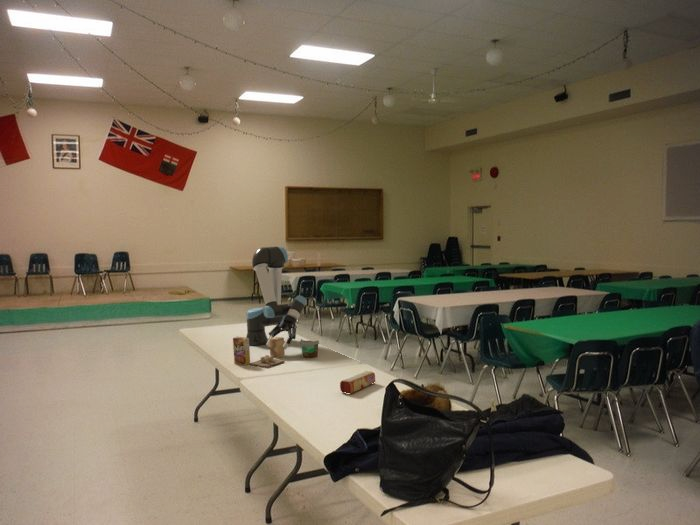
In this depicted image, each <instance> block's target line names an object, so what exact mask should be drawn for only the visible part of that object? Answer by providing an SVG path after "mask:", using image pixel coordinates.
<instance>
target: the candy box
mask: <svg viewBox="0 0 700 525" xmlns="http://www.w3.org/2000/svg"><path fill="white" fill-rule="evenodd" d="M232 347H233V348H232V349H233V360H234V361H233V363H234V364H235V365H241V364H243V365H242V366H247V364H248V365H250V364H249V363H251V352H250V349H251V348H250V345H249V338H246V337H242V336H234V337H233V338H232Z"/></svg>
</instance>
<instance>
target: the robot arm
mask: <svg viewBox="0 0 700 525" xmlns="http://www.w3.org/2000/svg"><path fill="white" fill-rule="evenodd" d="M288 259H289V257H288V252H287V250H286V249H285V247H283V246H266V247H260V248H258V249H257V250H256V251H255V252H254V254H253V257H252V261H251V264H252V269H253V271H255V273H256V274H255V275H256V277H257V281H258V284H259V287H260V290H261V294H262V298H263V302H264V304H265V306H264V307H255V308H251V309H248V310H247V312H246V329H247V330H246V332H247V334H246V337H245V338H249V347H250V346H253V347H257V346H264V345H266V346H267V348H270V339H271V338H275V337H277V335H279V334H280V333H282V332H287V334H288V337H287V338H285V339H286V340H284V345H283V347H284V350H287V349H288V347H289V344H291V342H292V341H293V340H296V336H297V328H298V326H297V325H296V323H297V321H298V320H299V318H300V316H301V314H302V312H303V310H304V308H305V307H306V304H307V302H308V301H307V298H306V297H304V296H303V295H296V297H295V298H294V300H292V301H291V302H288V303H282V273H283V269H284V267H285V264H287V263H288V261H289V260H288ZM272 326H274V327H273V328H272V329H271V331H269V332H268V336H269V337H267V333H266V327H272Z"/></svg>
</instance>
